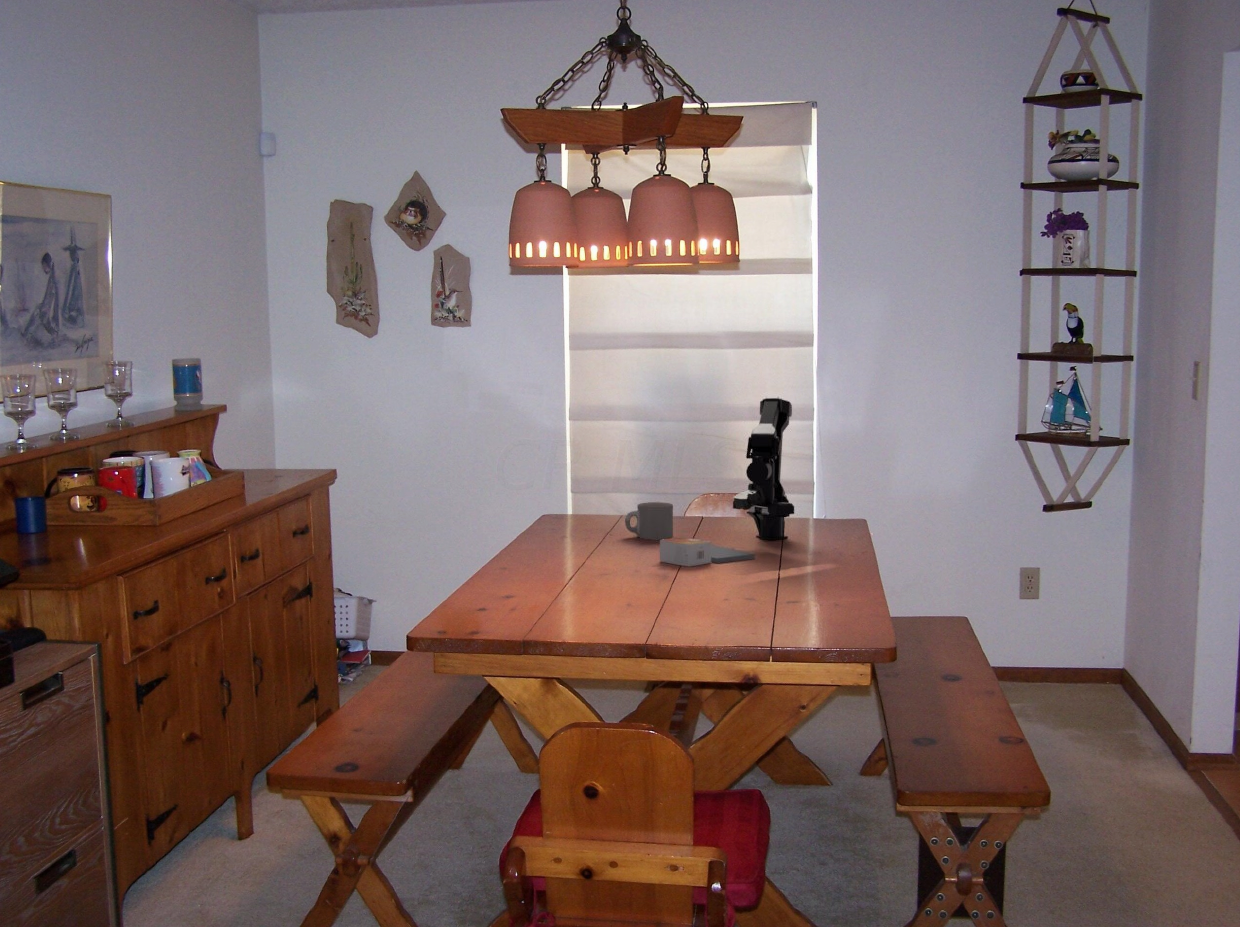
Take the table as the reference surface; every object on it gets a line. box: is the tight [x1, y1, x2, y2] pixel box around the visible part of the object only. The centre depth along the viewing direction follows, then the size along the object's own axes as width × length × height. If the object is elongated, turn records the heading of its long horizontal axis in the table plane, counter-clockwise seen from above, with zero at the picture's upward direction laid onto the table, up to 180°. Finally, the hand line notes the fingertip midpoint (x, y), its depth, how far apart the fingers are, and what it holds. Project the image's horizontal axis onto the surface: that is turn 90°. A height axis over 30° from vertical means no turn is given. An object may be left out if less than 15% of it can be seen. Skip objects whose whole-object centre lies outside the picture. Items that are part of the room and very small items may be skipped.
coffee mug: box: [624, 501, 674, 541], centre depth 325 cm, size 13×10×10 cm
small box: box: [659, 536, 712, 567], centre depth 289 cm, size 8×6×10 cm
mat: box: [711, 544, 756, 564], centre depth 298 cm, size 12×18×1 cm, turn 33°
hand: (762, 538), depth 307 cm, fingers closed
